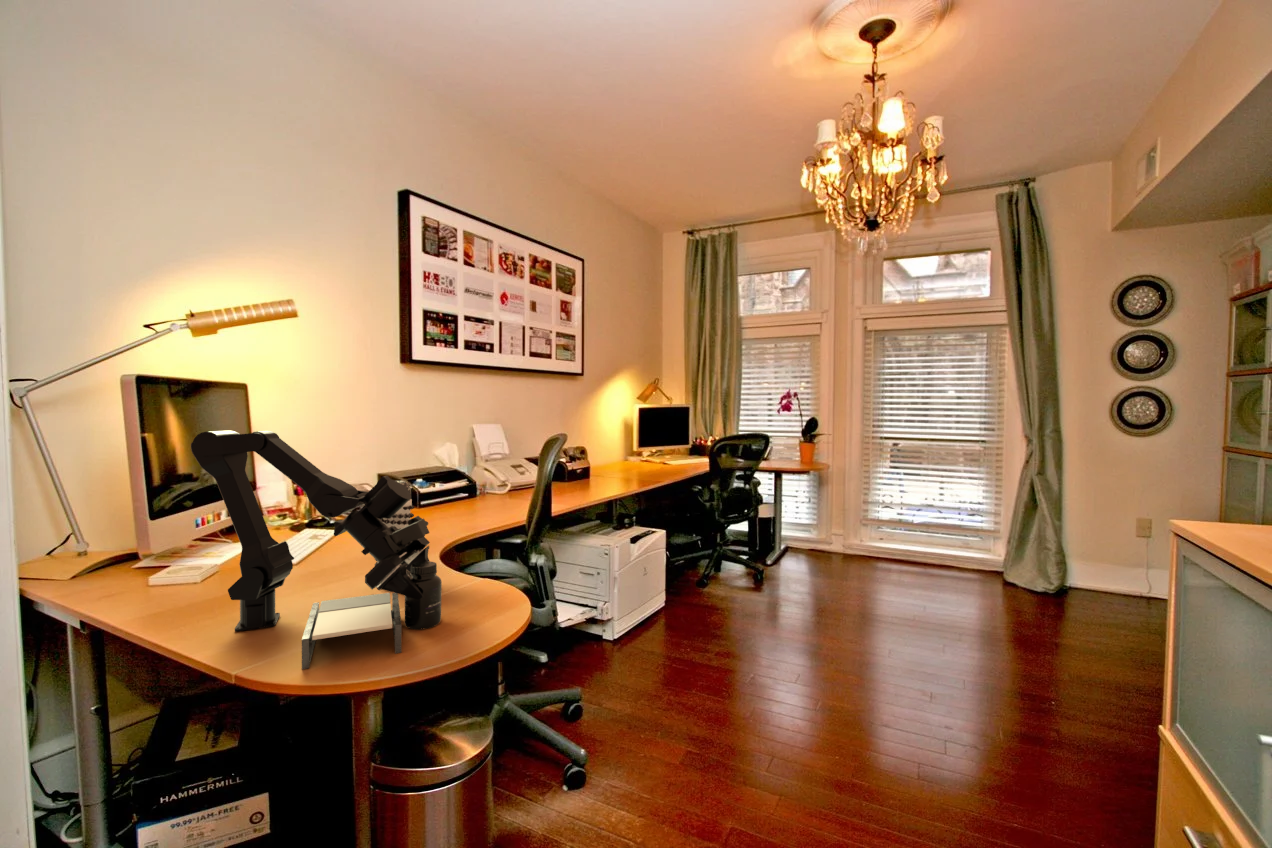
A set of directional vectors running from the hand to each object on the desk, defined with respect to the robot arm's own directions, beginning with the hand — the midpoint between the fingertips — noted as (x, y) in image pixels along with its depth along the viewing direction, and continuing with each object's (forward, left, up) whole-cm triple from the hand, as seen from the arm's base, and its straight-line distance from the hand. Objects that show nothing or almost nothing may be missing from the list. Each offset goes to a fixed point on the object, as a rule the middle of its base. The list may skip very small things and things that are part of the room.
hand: (429, 589), depth 107 cm
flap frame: (+3, -13, -7) cm, 15 cm away
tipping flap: (+3, -13, -4) cm, 14 cm away
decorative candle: (-29, -6, -7) cm, 31 cm away
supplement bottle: (0, -1, -7) cm, 7 cm away
